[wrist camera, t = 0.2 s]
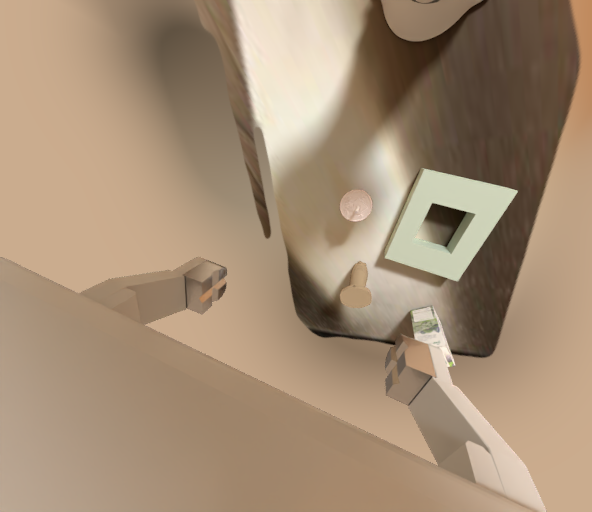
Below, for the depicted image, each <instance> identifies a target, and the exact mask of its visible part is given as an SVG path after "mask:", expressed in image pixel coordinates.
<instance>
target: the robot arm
mask: <svg viewBox="0 0 592 512" xmlns="http://www.w3.org/2000/svg"><path fill="white" fill-rule="evenodd" d="M481 1H483V0H381V2H382V6H383V11H384V15H385V19H386V21H387V23H388V25H389V27H390V28H391V30H392V31H393V32H394V33H395V34H396V35H397V36H399V37H400V38H402V39H405V40H408V41H424V40H428V39H431V38H433V37H436V36H438V35H439V34H441V33H443V32H444V31H446V30H447V29H448V28H450V27H451V26H452V25H453V24H454V23H456V22H457V21H458V20H459V19H460V17H461V16H462V15H463V14H464V13H465V12H466V11H467V10H468V9H470V8H471V7H472V6H474V5H476V4H478V3H479V2H481ZM226 275H227V269H226V268H225V267H223V266H221V265H219V264H216V263H214V262H211V261H209V260H206V259H203V258H201V257H196V258H194V259H192V260H190V261H189V262H187V263H185V264H184V265H182V266H180V267H178V268H177V269H175V270H173V271H171V270H166V271H159V272H152V273H146V274H139V275H133V276H126V277H119V278H112V279H108V280H106V281H104V282H102V283H100V284H98V285H95V286H93V287H91V288H89V289H87V290H85V291H83V292H81V293H76V292H74V291H72V290H70V289H68V288H66V287H64V286H62V285H60V284H58V283H56V282H54V281H51V280H49V279H47V278H45V277H43V276H41V275H39V274H37V273H35V272H33V271H31V270H28V269H26V268H24V267H22V266H20V265H18V264H16V263H14V262H13V261H11V260H8V259H5V258H3V257H0V512H547V511H546V509H545V507H544V505H543V502H542V500H541V498H540V496H539V494H538V491H537V489H536V487H535V485H534V483H533V481H532V478H531V476H530V474H529V472H528V470H527V468H526V465H525V464H524V463H523V462H522V461H521V459H520V458H519V457H518V456H517V455H516V454H515V453H514V451H513V450H512V449H511V448H510V447H509V446H508V444H506V442H505V441H504V440H503V439H502V438H501V436H500V435H499V434H498V433H497V432H496V431H495V429H494V428H493V427H492V426H491V425H490V424H489V423H488V422H487V421H486V419H485V418H484V417H483V416H482V415H481V413H480V412H479V411H478V410H477V409H476V408H475V407H474V405H473V404H472V403H471V402H470V401H469V400H468V398H467V397H466V396H465V395H464V394H463V393H462V392H461V390H460V389H459V388H458V387H457V386H454V385H453V384H452V380H451V377H450V374H449V371H448V368H447V365H446V362H445V358H444V355H443V352H442V350H441V349H440V348H439V347H436V346H433V345H430V344H427V343H423V342H421V341H418V340H415V339H413V338H410V337H407V336H405V335H402V334H399V335H398V336H397V338H396V340H395V345H396V346H394V347H391V348H390V350H389V352H388V354H387V357H386V362H385V370H386V372H387V374H388V376H387V378H386V380H385V381H386V396H389V397H391V398H393V399H395V400H397V401H399V402H401V403H404V404H406V405H408V406H409V409H410V411H411V413H412V415H413V417H414V419H415V421H416V423H417V425H418V427H419V428H420V431H421V433H422V435H423V436H424V438H425V440H426V442H427V444H428V446H429V448H430V450H431V452H432V454H433V456H434V458H435V460H436V462H437V464H438V466H437V465H435V464H433V463H431V462H429V461H426V460H425V459H422V458H420V457H418V456H416V455H414V454H412V453H410V452H408V451H406V450H404V449H402V448H400V447H398V446H395V445H393V444H391V443H389V442H387V441H385V440H383V439H381V438H379V437H377V436H374V435H372V434H371V433H368V432H366V431H364V430H362V429H360V428H358V427H356V426H354V425H352V424H350V423H348V422H345V421H343V420H341V419H339V418H337V417H335V416H333V415H331V414H329V413H327V412H325V411H322V410H320V409H318V408H316V407H314V406H312V405H310V404H308V403H306V402H304V401H302V400H299V399H297V398H295V397H293V396H291V395H289V394H287V393H285V392H283V391H281V390H279V389H277V388H275V387H272V386H270V385H268V384H266V383H264V382H262V381H260V380H258V379H256V378H254V377H252V376H250V375H247V374H245V373H243V372H241V371H239V370H237V369H235V368H233V367H231V366H229V365H227V364H225V363H222V362H220V361H218V360H216V359H214V358H212V357H210V356H208V355H206V354H203V353H202V352H200V351H197V350H195V349H193V348H191V347H189V346H187V345H185V344H183V343H181V342H179V341H177V340H175V339H172V338H170V337H168V336H166V335H164V334H162V333H160V332H157V331H156V330H154V329H152V328H150V327H147V326H145V324H148V323H150V322H153V321H156V320H158V319H161V318H164V317H166V316H169V315H172V314H174V313H177V312H180V311H182V310H185V309H186V308H187V309H190V310H192V311H195V312H197V313H200V314H203V313H205V312H206V311H207V310H208V309H209V308H210V307H211V306H212V302H213V301H217V300H219V299H220V298H221V297H222V295H223V293H224V292H225V289H226V281H225V279H224V277H225V276H226Z"/></svg>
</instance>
